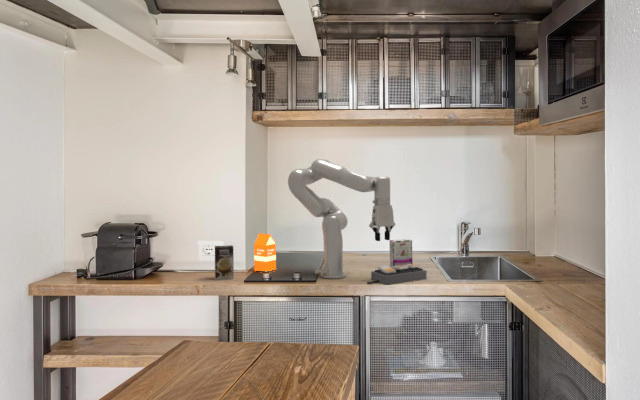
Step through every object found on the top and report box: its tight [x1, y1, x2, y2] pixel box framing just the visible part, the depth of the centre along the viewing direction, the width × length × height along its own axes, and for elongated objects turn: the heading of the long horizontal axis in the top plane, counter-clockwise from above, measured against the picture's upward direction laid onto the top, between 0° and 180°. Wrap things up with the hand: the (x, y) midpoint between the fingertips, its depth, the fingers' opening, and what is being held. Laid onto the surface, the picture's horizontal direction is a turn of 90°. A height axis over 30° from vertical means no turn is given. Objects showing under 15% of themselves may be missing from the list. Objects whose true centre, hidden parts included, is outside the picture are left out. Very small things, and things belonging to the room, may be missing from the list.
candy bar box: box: [389, 238, 413, 267], centre depth 234 cm, size 11×5×16 cm, turn 105°
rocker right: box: [402, 263, 421, 268], centre depth 219 cm, size 5×8×1 cm, turn 28°
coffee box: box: [214, 244, 235, 281], centre depth 222 cm, size 9×6×16 cm
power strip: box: [366, 267, 428, 286], centre depth 214 cm, size 30×12×5 cm, turn 118°
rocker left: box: [376, 264, 396, 273], centre depth 212 cm, size 5×8×1 cm, turn 28°
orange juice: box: [253, 233, 277, 272], centre depth 238 cm, size 8×9×20 cm
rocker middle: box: [391, 266, 408, 269], centre depth 215 cm, size 5×8×1 cm, turn 28°
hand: (382, 239), depth 214 cm, fingers open, 4 cm apart
